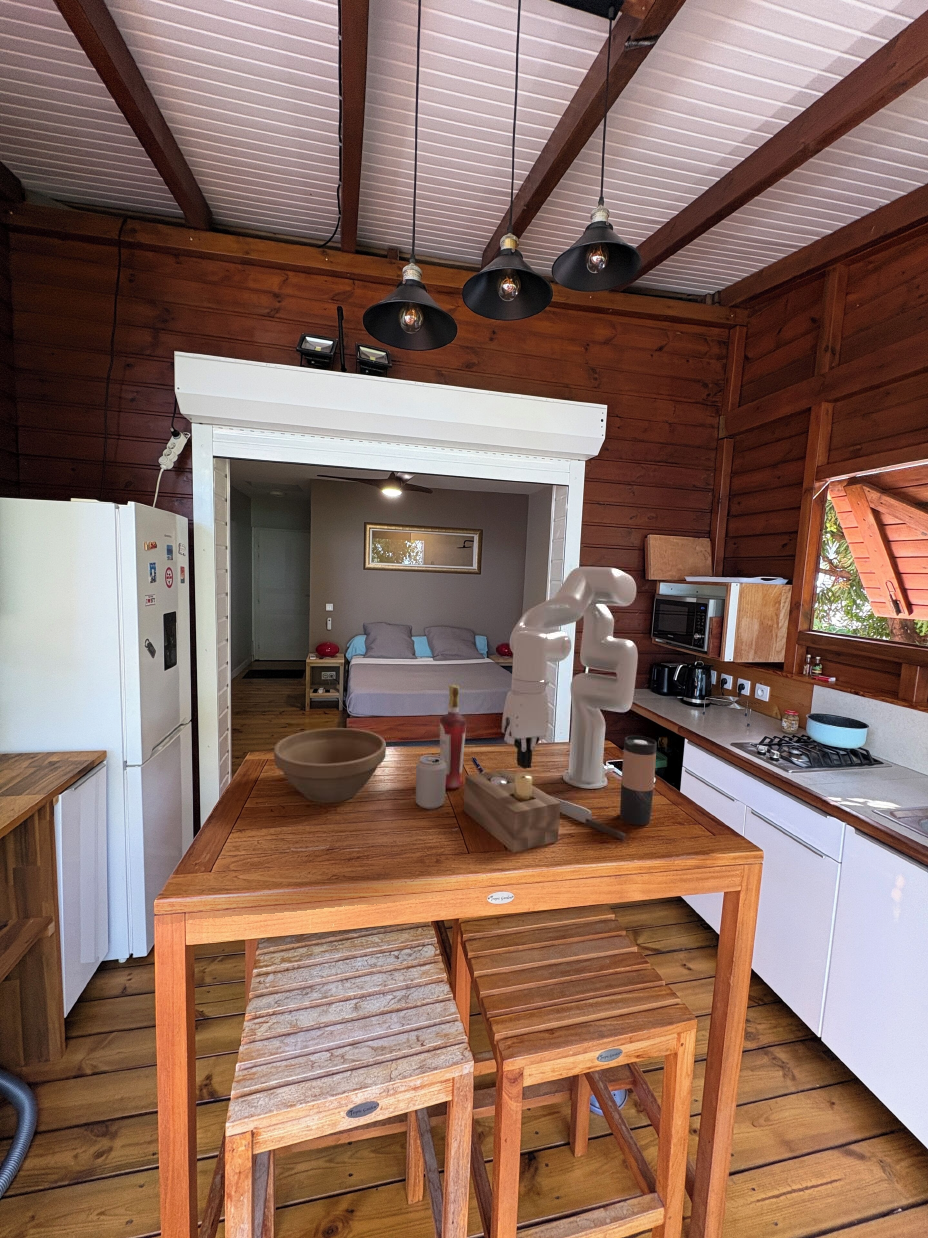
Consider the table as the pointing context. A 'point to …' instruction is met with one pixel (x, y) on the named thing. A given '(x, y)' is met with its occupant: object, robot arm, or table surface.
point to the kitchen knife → (587, 818)
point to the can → (430, 781)
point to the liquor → (453, 741)
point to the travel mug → (637, 779)
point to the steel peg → (498, 781)
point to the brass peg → (523, 786)
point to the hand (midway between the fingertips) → (523, 766)
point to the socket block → (511, 811)
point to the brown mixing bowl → (330, 761)
